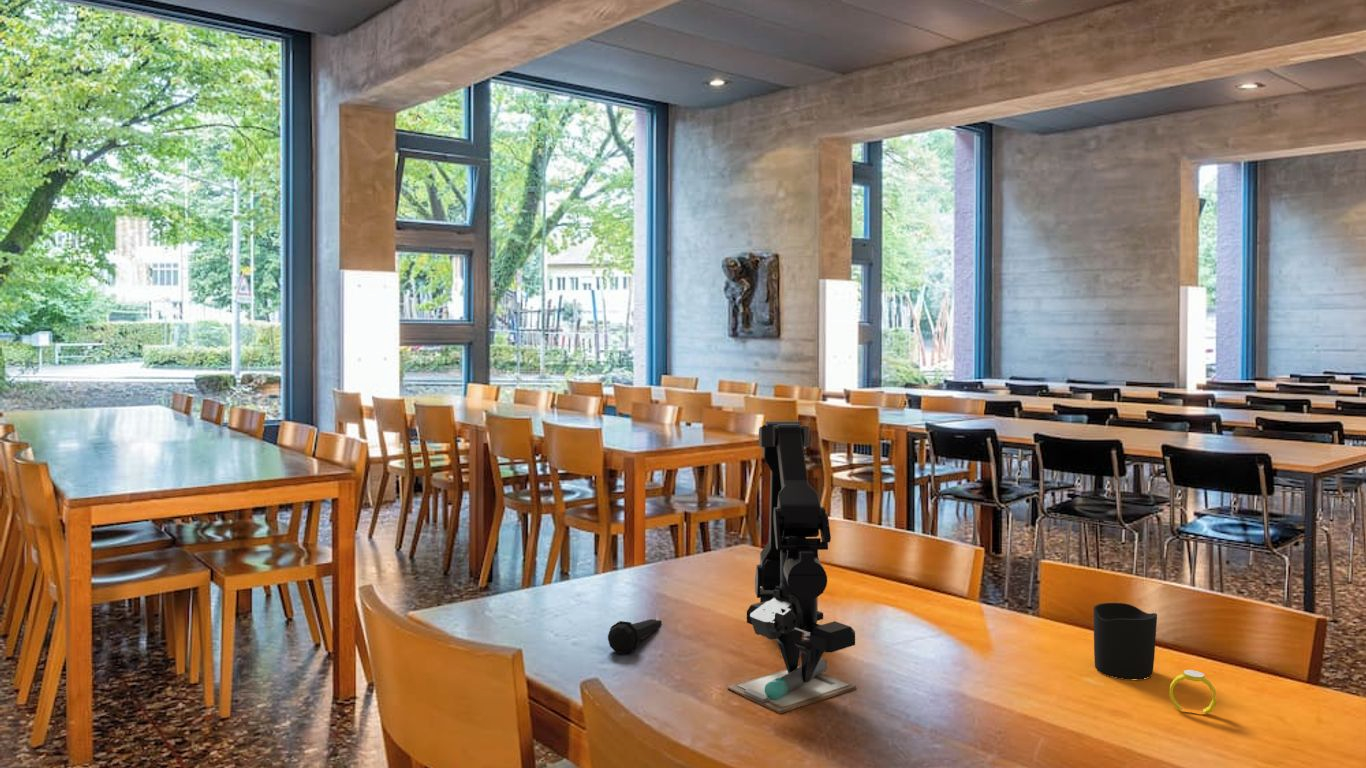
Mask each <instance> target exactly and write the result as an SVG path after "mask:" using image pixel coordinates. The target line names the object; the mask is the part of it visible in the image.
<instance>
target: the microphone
mask: <svg viewBox="0 0 1366 768" xmlns="http://www.w3.org/2000/svg"><path fill="white" fill-rule="evenodd" d="M661 624H662V620H660V619H657V620H656V619H655V618H654V619H652V618H651V619H646V620H642V621H639V622H634V623H632V622H631V621H623V620H621V621H617V622H616V623H614V624H613V625H612V626H610V629H609V632H608V634H607V640H608V644H609V647H610V648H611V649H612V650H613V651H614V652H615V653H618V654H623V655H624V654H625V655H629V654H630V653H632V652H634V651H635V650H637V649H638V646H639V644H640V643H641V642H643V639H644V638H646V637H648V636H650V635H651V634H652V633H653V632H656V631H657V630H658V628H659V626H660V625H661Z"/></svg>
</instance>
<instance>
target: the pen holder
mask: <svg viewBox="0 0 1366 768" xmlns="http://www.w3.org/2000/svg"><path fill="white" fill-rule="evenodd" d="M1157 624H1158V614H1157V613H1156V612H1155V613H1154V612H1152V613H1147V612H1145V611H1143V610H1142V609H1139V608H1138V607H1136V606H1135V605H1132V604H1130V603H1124V602H1103V603H1100V604H1096V605H1094V606H1093V650H1094V652H1093V655H1094V656H1093V657H1094V659H1093V660H1094V667H1095V669H1096V670H1097V672H1099V671H1100V672H1102V673H1104V674H1106V675H1105V676H1107V675H1109V676H1108V677H1110V676H1113V677H1117V678H1116V679H1118V678H1123V679H1122V680H1124V679H1143V680H1145V679H1144V678H1147V677H1149V678H1151V676H1153V674H1154V662H1155V652H1156V638H1157ZM1100 672H1099V673H1100ZM1102 673H1101V674H1102ZM1104 674H1103V675H1104ZM1113 677H1112V678H1113ZM1147 679H1148V678H1147Z"/></svg>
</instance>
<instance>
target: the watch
mask: <svg viewBox="0 0 1366 768" xmlns="http://www.w3.org/2000/svg"><path fill="white" fill-rule="evenodd" d="M1182 671H1183V670H1182ZM1185 679H1186V680H1189V681H1193V682H1202V683H1204V684H1205V685H1206V686H1207V687H1208V688H1209V690H1210V692H1211V693H1212V700H1211V702H1209V706H1207V707H1205V708H1204V709H1202V710H1203V712H1204V713H1207V714H1209V713H1210V712H1212V711H1213V709H1214V707H1215V706H1216V703H1217V696H1216V695H1217V694H1216V689H1215V687H1214V686H1213V684H1212V683H1211V681H1210V680H1209V679H1208V678H1206V676H1205V674H1204V673H1203V672H1200V671H1196V670H1193V669H1187V670H1186V669H1185V670H1184V671H1183V672H1182V673H1181V674H1179V675H1177V676H1175V678H1174V679H1173V680H1172V681H1171V682H1170V685H1169V698H1170V701H1171V703H1172V705H1173V707H1175V709H1177V710H1178V709H1180V710H1182V707H1183V706H1182V705H1180V704H1179V703H1178V702H1177V701H1176V699H1175V696H1174V692H1173V691H1174V688H1175V686H1176V685H1177V684H1178V682H1180V681H1183V680H1185Z"/></svg>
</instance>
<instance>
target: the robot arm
mask: <svg viewBox="0 0 1366 768" xmlns="http://www.w3.org/2000/svg"><path fill="white" fill-rule="evenodd" d="M758 447H759V448H761V450H762V455H763V459H764V461H765V463H766V464H767V466H768V468H769V469H770V470H769V473H770V474H769V475H770V476H769V477H770V478H769V481H770V482H769V513H768V514H769V515H768V517H769V521H768V524H769V525H768V526H769V528H768V541H767V543H766V544H765V546H764V547H763V549H762V550H761V551H760V553H759V564H756V567H755V577H754V591H755V596H756V598H757V599H760V601H759V602H756V603H753V604H750V605H749V607H748V608H747V611H746V623H747V624H748V625H749V624H750V625H752V627H753V630H754V633H755V634H756V635H757V636H763V637H765V638H767V640H770V641H771V640H773V641H775V642H776V643H777V646H778V648H779V651H780V653H781V655H782V659H783V661H784V666H785V668H786V669H787V671H788V673H790V672H792V671H794V670H795V669H797V667H798V666H799V660H800V662H801V664H800V665H801V666H802V678H803V682H808V681H810V679H811V677H812V675H813V673H814V671H815V668H816V666H817V664H818V662H819V660H820V658H822V656H823V654H824V653H831V654H832V653H834V652H837V651H840V650H844V649H848V648H850V647H853V646H854V647H855V646H856V631H855V629H853V628H852V627H851V626H849V625H848V624H844V623H841V622H838V621H835V620H834V621H830V622H828V623H823V624H818V621H821V620H824V612H822V611H819V610H818V606H819V603H818V602H819V601H818V600H819V599H818V598H819V596H821V595H822V594H824V592H825V590H826V588H827V585H828V576H827V573H826V570H825V568H824V566H823V565H822V563H821V561H820V559H819V551H820V550H822V551H825V550H826V551H827V550H829V543H831V539H832V537H831V536H832V535H831V529H830V520H829V515H828V514H827V513H826V509H825V507H823V506H822V505H821V502H820V496H819V493H818V492H817V491H816V490H815V489H814V488H813V487H811V485H810V484H809V483H810V482H809V479H808V478H809V476H808V471H807V470H808V469H807V463H806V457H805V448H810V426H809V425H803V424H802V425H801V420H776V421H775V420H769V421H768V420H766V421H765V424H763V425H762V426H759V427H758ZM819 535H820V537H818V536H819ZM803 635H804V636H803ZM802 639H803V640H802Z"/></svg>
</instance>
